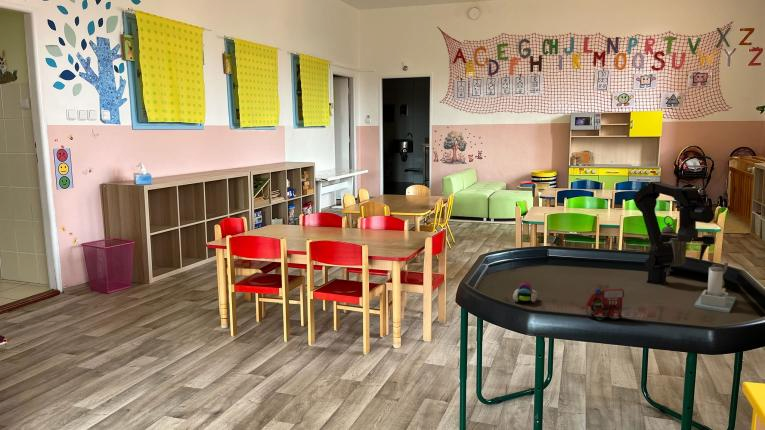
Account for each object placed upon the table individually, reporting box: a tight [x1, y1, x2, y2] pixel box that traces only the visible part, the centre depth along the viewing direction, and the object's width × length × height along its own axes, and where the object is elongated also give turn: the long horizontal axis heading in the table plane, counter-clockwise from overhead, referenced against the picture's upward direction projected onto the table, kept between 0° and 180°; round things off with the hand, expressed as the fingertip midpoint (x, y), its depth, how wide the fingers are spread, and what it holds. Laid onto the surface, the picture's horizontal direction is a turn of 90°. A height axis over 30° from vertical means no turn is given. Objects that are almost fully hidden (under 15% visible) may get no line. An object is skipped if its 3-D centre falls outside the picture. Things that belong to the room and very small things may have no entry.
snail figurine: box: [710, 259, 729, 288], centre depth 236 cm, size 5×6×12 cm
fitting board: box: [693, 287, 737, 314], centre depth 219 cm, size 11×18×4 cm, turn 144°
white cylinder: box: [707, 265, 724, 297], centre depth 216 cm, size 4×4×13 cm
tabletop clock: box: [648, 215, 687, 277], centre depth 261 cm, size 14×9×25 cm, turn 6°
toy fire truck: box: [585, 288, 625, 318], centre depth 206 cm, size 7×12×10 cm, turn 87°
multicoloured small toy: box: [512, 281, 538, 302], centre depth 226 cm, size 8×10×7 cm
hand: (686, 260), depth 231 cm, fingers open, 9 cm apart
